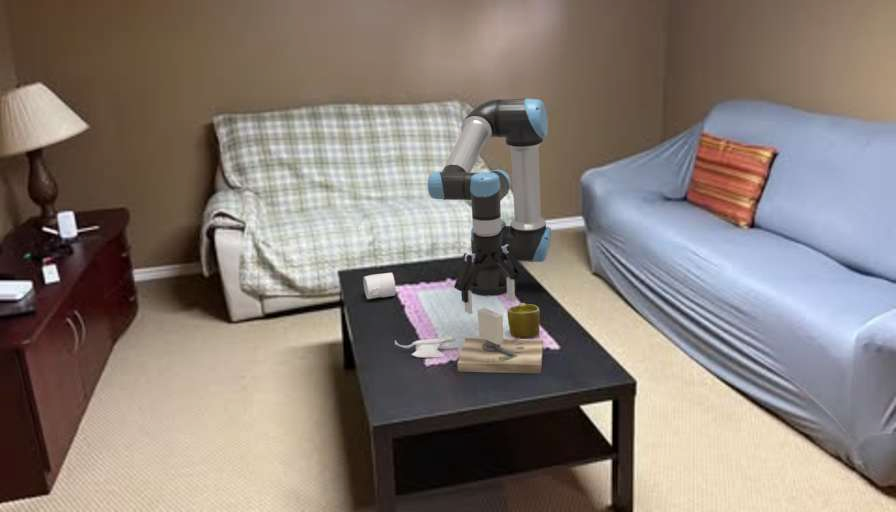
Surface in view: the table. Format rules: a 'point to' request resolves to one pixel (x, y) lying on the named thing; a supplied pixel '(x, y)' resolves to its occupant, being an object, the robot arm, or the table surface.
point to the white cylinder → (379, 285)
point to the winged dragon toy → (428, 347)
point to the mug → (524, 320)
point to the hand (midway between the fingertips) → (490, 306)
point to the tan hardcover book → (502, 356)
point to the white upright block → (491, 330)
